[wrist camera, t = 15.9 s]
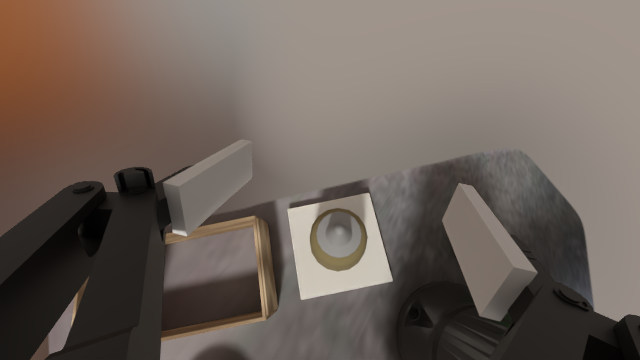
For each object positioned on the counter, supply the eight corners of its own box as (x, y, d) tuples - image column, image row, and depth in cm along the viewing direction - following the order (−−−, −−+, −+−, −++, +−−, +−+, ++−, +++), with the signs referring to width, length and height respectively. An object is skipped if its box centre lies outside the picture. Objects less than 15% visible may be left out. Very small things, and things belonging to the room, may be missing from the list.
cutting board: (391, 280, 37) (393, 281, 36) (302, 298, 37) (301, 300, 36) (368, 194, 41) (369, 192, 40) (288, 210, 41) (287, 209, 40)
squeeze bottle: (364, 271, 36) (389, 280, 19) (311, 270, 37) (291, 278, 20) (362, 218, 39) (383, 185, 22) (312, 217, 40) (296, 185, 22)
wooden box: (278, 310, 37) (253, 332, 25) (149, 336, 36) (65, 371, 25) (267, 221, 41) (242, 206, 30) (152, 244, 41) (82, 238, 30)
